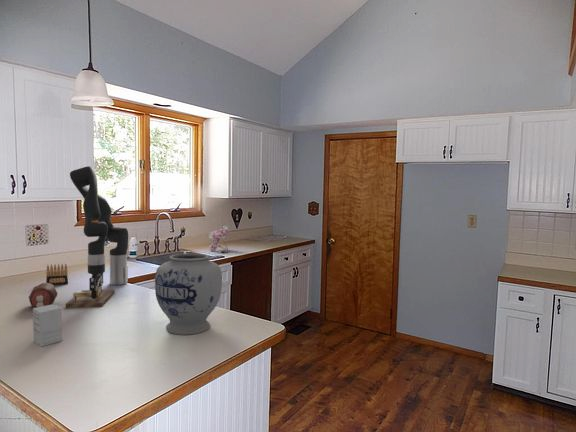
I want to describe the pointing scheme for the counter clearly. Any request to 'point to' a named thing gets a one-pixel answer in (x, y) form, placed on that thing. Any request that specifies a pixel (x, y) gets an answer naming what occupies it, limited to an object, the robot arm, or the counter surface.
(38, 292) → the meat
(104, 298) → the walnut board
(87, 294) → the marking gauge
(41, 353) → the counter surface
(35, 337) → the supplement box
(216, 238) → the flower
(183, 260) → the apothecary jar
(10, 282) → the counter surface
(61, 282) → the ammunition clip
